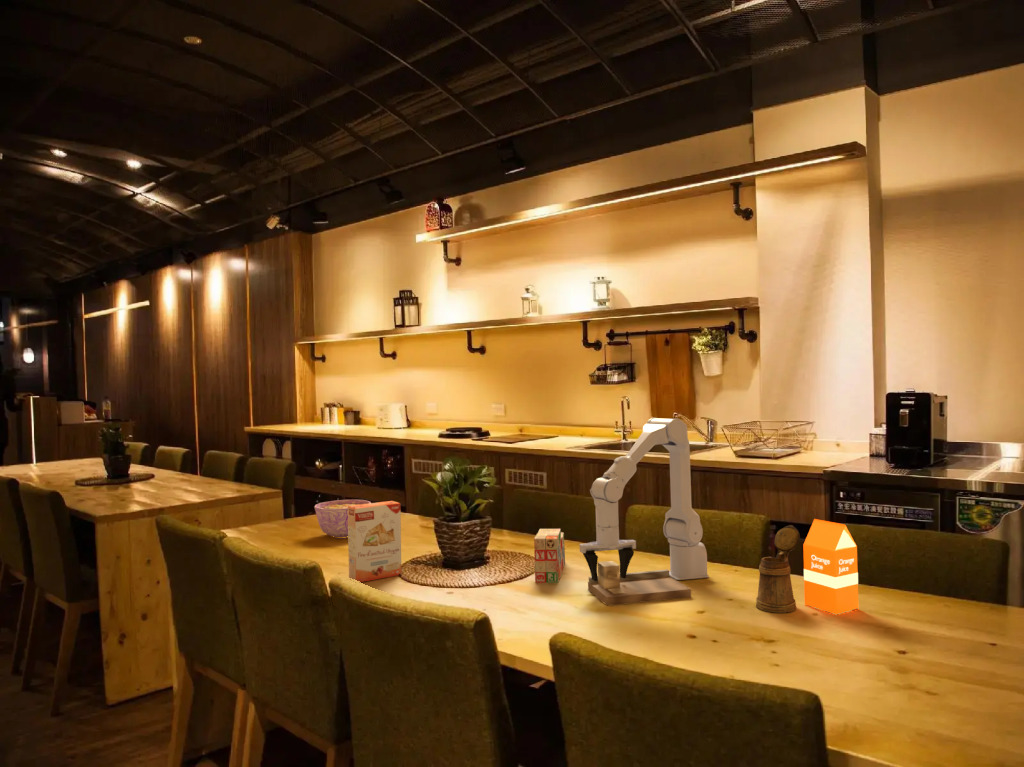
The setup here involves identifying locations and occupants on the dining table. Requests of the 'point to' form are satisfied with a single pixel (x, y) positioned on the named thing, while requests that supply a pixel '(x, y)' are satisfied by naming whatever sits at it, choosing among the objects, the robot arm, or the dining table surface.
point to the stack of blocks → (549, 555)
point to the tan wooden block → (608, 574)
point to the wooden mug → (778, 575)
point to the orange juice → (830, 568)
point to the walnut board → (641, 588)
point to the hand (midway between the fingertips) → (608, 578)
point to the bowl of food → (335, 516)
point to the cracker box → (374, 540)
